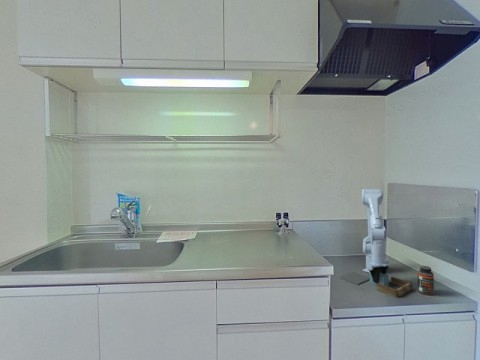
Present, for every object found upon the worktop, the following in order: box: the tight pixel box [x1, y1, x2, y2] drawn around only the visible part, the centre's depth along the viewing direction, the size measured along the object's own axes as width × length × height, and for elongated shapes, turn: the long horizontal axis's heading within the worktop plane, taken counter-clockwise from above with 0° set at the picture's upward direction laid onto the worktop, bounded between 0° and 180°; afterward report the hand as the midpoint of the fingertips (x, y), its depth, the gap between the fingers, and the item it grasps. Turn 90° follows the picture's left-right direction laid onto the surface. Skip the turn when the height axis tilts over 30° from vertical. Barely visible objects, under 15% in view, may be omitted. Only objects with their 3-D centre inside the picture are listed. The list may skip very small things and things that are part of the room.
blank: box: [368, 272, 390, 287], centre depth 127 cm, size 4×7×5 cm, turn 33°
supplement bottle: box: [416, 265, 435, 296], centre depth 118 cm, size 6×6×11 cm
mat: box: [339, 271, 370, 286], centre depth 135 cm, size 11×10×1 cm
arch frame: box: [376, 276, 413, 298], centre depth 121 cm, size 13×9×3 cm
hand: (378, 281), depth 128 cm, fingers closed on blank, 4 cm apart
